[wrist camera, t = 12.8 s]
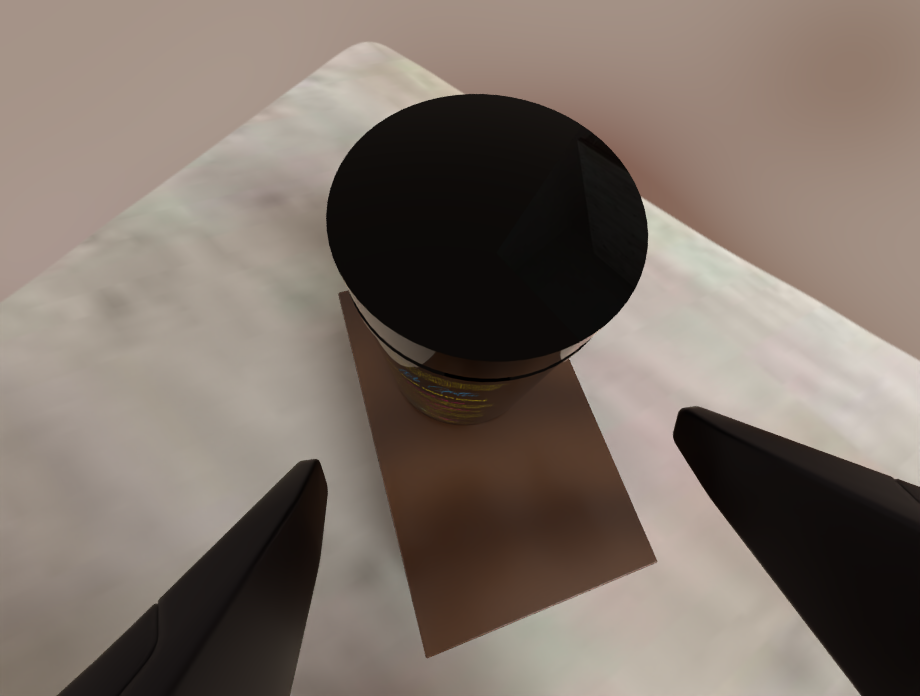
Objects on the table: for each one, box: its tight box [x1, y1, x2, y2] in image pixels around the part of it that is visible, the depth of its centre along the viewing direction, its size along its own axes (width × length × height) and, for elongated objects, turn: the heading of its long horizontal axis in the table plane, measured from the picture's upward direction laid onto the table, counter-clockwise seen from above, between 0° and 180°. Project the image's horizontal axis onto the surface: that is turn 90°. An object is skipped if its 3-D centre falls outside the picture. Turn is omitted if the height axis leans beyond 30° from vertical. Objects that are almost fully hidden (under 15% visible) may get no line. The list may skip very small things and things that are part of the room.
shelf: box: [338, 290, 657, 658], centre depth 19 cm, size 16×10×6 cm, turn 18°
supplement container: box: [326, 94, 648, 425], centre depth 12 cm, size 7×7×10 cm
